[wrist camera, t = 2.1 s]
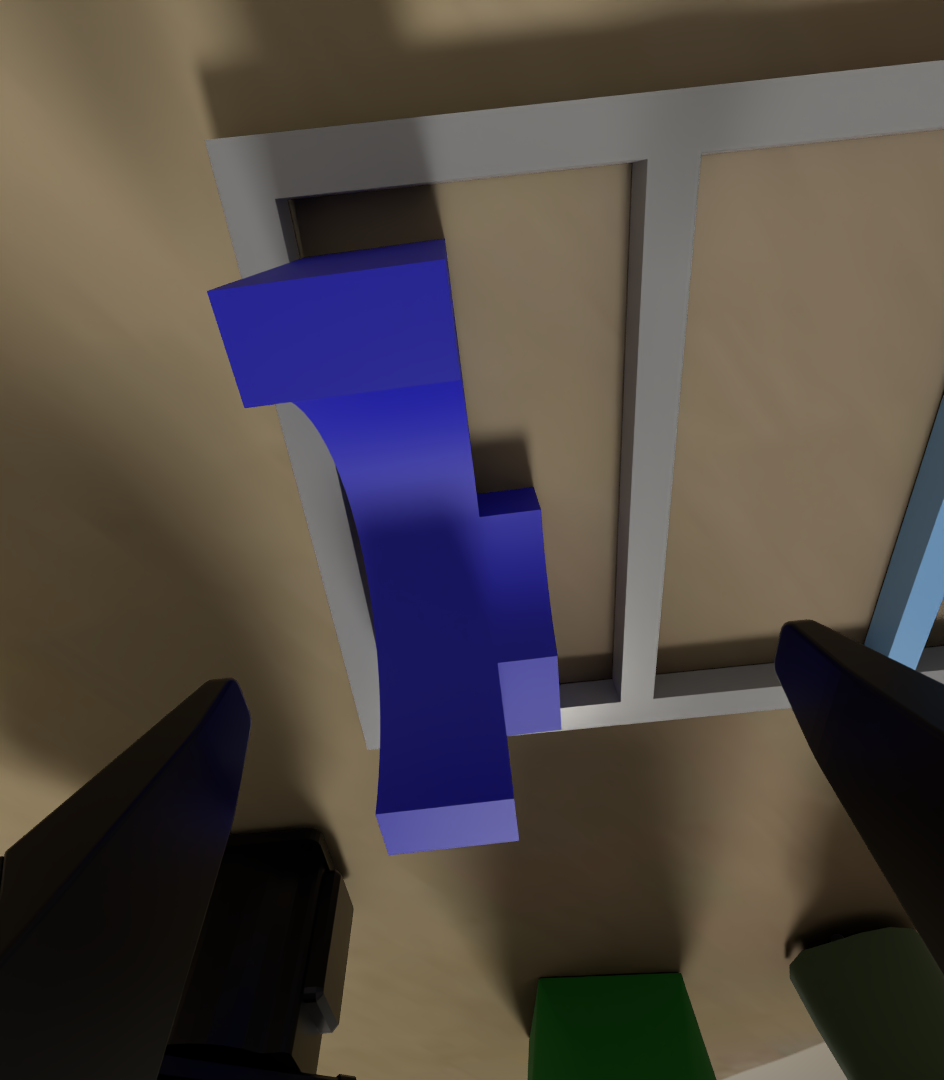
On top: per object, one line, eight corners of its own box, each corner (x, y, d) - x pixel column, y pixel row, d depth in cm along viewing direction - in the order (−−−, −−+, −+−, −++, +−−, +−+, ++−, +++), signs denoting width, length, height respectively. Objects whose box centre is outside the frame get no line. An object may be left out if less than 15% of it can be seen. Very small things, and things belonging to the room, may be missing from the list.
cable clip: (544, 655, 18) (584, 833, 13) (404, 672, 18) (388, 855, 13) (514, 228, 12) (566, 242, 7) (306, 256, 12) (206, 291, 7)
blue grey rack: (371, 725, 19) (343, 927, 14) (223, 145, 11) (19, 85, 6) (990, 664, 19) (1206, 843, 14) (1288, 30, 11) (2094, -142, 6)
